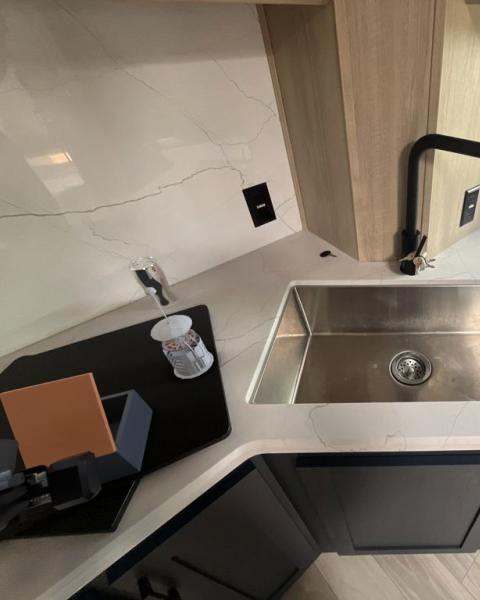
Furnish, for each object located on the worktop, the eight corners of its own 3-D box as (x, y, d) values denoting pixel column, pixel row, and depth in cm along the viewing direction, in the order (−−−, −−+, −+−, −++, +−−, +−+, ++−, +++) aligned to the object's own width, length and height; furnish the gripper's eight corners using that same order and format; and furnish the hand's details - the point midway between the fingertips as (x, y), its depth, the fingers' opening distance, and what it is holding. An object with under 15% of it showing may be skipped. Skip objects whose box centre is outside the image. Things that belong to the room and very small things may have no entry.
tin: (90, 429, 68) (63, 406, 62) (153, 412, 72) (133, 389, 66) (67, 495, 59) (32, 476, 53) (141, 472, 62) (117, 452, 56)
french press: (199, 345, 86) (157, 269, 70) (229, 362, 83) (192, 286, 66) (163, 370, 80) (108, 293, 64) (194, 391, 76) (143, 314, 60)
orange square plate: (3, 392, 51) (-2, 394, 50) (91, 372, 54) (89, 373, 54) (32, 474, 53) (29, 477, 52) (116, 449, 56) (114, 452, 56)
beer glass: (176, 293, 102) (154, 253, 92) (181, 305, 98) (159, 264, 88) (150, 302, 98) (125, 261, 89) (155, 314, 95) (129, 273, 85)
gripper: (41, 432, 38) (115, 404, 53) (-191, 493, 33) (-35, 442, 47) (60, 525, 38) (129, 470, 53) (-172, 603, 32) (-21, 517, 47)
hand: (54, 473), depth 50 cm, fingers closed
